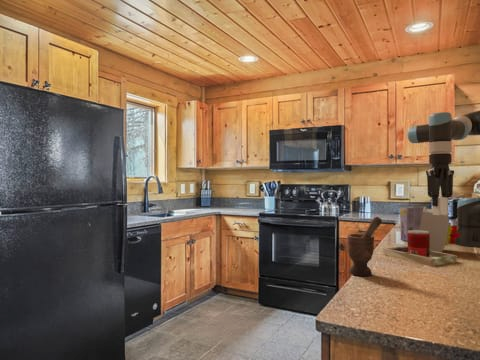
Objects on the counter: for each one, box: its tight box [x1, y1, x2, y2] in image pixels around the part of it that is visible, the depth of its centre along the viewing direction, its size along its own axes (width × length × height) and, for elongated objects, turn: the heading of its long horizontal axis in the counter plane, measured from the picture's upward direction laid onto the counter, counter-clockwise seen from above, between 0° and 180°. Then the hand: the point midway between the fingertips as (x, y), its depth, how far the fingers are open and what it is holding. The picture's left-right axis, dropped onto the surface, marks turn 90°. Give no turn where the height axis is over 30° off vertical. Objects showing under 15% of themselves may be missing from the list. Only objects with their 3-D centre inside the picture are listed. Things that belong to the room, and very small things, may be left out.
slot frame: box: [382, 245, 458, 267], centre depth 142 cm, size 15×22×3 cm
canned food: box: [407, 230, 431, 258], centre depth 142 cm, size 8×8×11 cm
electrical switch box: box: [420, 206, 459, 253], centre depth 155 cm, size 15×15×20 cm
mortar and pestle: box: [347, 216, 383, 277], centre depth 118 cm, size 12×9×20 cm
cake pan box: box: [399, 206, 428, 242], centre depth 187 cm, size 19×5×18 cm, turn 122°
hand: (440, 214), depth 134 cm, fingers open, 4 cm apart
